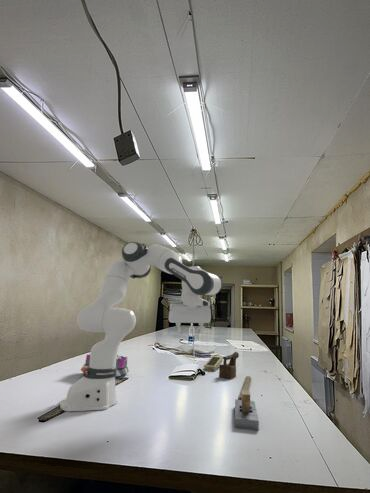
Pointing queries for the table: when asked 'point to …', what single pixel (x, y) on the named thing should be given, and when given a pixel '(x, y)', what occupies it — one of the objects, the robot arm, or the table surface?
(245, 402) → the clip
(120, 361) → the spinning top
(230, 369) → the wooden tool caddy
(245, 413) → the grey slotted block
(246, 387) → the roll
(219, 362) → the box
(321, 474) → the table surface
